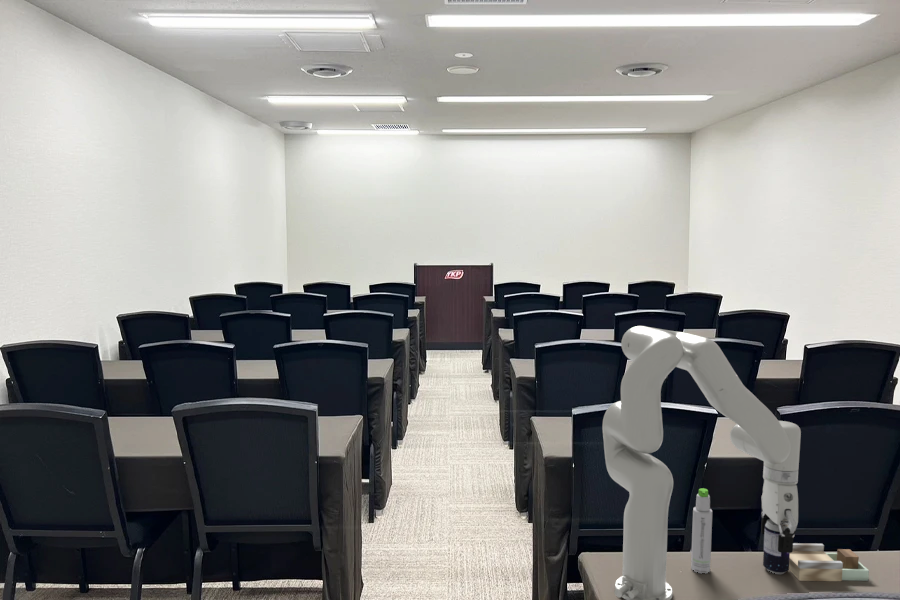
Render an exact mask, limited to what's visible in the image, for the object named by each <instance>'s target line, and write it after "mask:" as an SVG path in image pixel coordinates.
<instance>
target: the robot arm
mask: <svg viewBox="0 0 900 600" xmlns="http://www.w3.org/2000/svg"><path fill="white" fill-rule="evenodd" d="M620 342H621V344H620V345H621V349H622V352H623V355H625V357H626V358H627V359H628V360H630V361H632V362H631V363H630V365H629V366H628V368H627V369H626V371H625V372H624V375H623V376H622V379H621V382H620V400H618V401H616V402H614V403H612V404H610V406H609V407H608V408H607V409H606V411H605V413H604V415H603V419H602V437H603V438H602V439H603V450H604V459H605V466H606V470H607V472H608V475H609V477H610V478H611V480H613V481H614V482H615V483H616V484H618V485H619V486H620V487H621V488H624V489H625V490H626V491H627V492H629V493H628V494H629V497H628V501H627V502H626V504H625V508H624V510H623V511H624V512H623V533H622V535H623V538H622V539H623V541H622V542H623V544H622V573H621V574H622V575H621V576H620V577H618V578H617V579H616V580H615V583H614V586H615V587H614V588H615V589H614V595H615V596H616V597H617V598H618V599H619V598H623V600H672V598H673V594H674V592H673V588H672V586H671V585H670V584H669V583H668V582H667V555H668V552H667V551H668V521H669V519H668V517H669V507H670V502H671V496H672V493H673V489H674V478H673V474H672V472H671V470H670V469H669V468H668V466H667V465H666V463H664V462H663V461H661V460H660V459H658V458H656V457H655V456H653V455H652V453H654V452H656V451H658V450H659V449H660V448H661V446H662V443H663V441H664V428H663V413H662V412H663V411H662V402H661V399H662V398H661V396H662V393H661V391H662V388H663V387H662V386H663V383H664V381H665V380H666V379H667V377H668V375H670V373H672V371H673V370H674V369H675V368H678V369H681V370H685V371H687V372H688V373H689V374H690V375H691V377H692V379H693V380H694V382H695V383H696V385H697V386H698V388H699V389H700V391H701V392H702V394H703V395H704V397H705V398H706V401H708V403H709V405H710V406H711V407H713V408H714V409H715V410H716V411H717V412H719V413H720V414H722V415H723V416H724V417H726V418H727V419H729V420H731V422H733V423H735V425H734V426H733V427H732V428H731V430H730V432H729V439H730V442H731V444H732V445H733V446H734V448H736V449H737V450H738V451H741V452H743V453H744V454H747V455H748V456H751V457H754V458H756V459H758V460H760V461H763V469H762V470H763V471H762V478H763V486H762V495H761V497H760V498H761V506H760V509H761V525H760V526H761V527H760V533H761V534H762V535H764V533H765V524H766V523H767V520H768V519H771V520H772V521H773V522H774V523H776V524H777V525H778V526H779V530H780V535H779V537H778V551H779V552H785V553H791V552H792V551H793V543H794V537H795V534H796V532H797V531H796V530H797V528H798V523H799V493H798V485H797V484H798V482H799V470H800V469H799V465H800V464H799V463H800V451H801V437H802V436H801V435H802V434H801V433H802V431H801V428H800V427H799V425H798V424H796V423H793V422H792V421H791V422H790V421H786V420H784V421H783V420H778V419H777V417H776V416H775V415H774V414H773V412H772V411H771V410H770V409H769V408H768V407H767V406H766V405H765V404H764V403H763V402H762V401H761V400H759V398H757V396H756V395H754V394H753V392H751V391H750V390H749V389H748V388H747V387H746V386H745V385H744V384H743V382H742V380H741V379H740V377H739V376H738V374H737V373H736V371H735V370H734V367H732V365H731V363H730V362H729V360H728V358H727V357H726V355H725V354H724V352H723V351H722V349H721V347H720V346H719V345H718V344H717V343H716V342H715V341H714V340H713V339H711V338H709V337H705V336H702V335H697V334H693V333H689V332H683V331H677V330H676V331H674V330H668V329H662V328H656V327H650V326H646V325H637V326H633V327H631V328H629V329H628V330H626V332H624V334H623V335H622V339H621V341H620ZM781 521H787V522H781ZM783 526H788V528H786V529H785V530H784V528H783Z"/></svg>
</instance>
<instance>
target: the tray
mask: <svg viewBox="0 0 900 600" xmlns="http://www.w3.org/2000/svg"><path fill="white" fill-rule="evenodd" d="M825 553H826V554H827V555H828V556H829V557H830V558H831V559H832V560H833V561H837V552H825ZM869 576H870V570H869V569H868V567H866V566H864V565H863V563H861V562H860V561H858V569H842V581H863V582H864V581H869V579H870V578H869Z"/></svg>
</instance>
